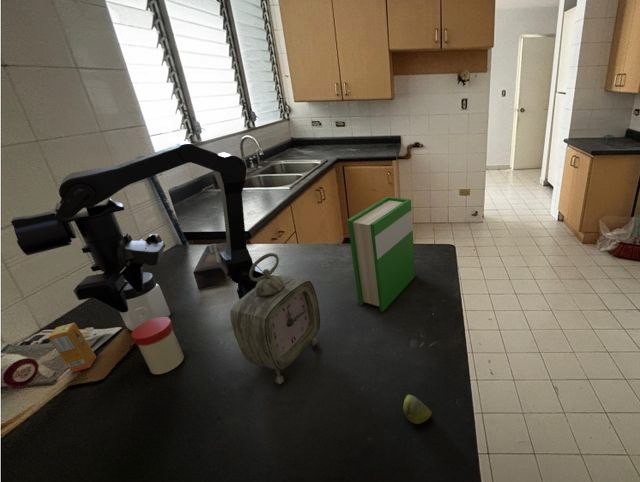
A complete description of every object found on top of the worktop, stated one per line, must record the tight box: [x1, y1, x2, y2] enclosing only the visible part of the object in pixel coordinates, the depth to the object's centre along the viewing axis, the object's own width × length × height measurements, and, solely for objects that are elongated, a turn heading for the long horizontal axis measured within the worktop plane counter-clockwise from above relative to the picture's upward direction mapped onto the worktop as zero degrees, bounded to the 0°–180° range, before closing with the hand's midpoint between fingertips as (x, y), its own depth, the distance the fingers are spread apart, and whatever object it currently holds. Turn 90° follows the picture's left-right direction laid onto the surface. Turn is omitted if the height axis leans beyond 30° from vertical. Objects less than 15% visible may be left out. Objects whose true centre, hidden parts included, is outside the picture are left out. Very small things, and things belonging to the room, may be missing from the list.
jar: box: [118, 272, 171, 332], centre depth 82 cm, size 9×8×12 cm
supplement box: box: [47, 322, 97, 373], centre depth 70 cm, size 3×3×10 cm
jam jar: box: [137, 328, 185, 375], centre depth 70 cm, size 6×6×9 cm
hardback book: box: [346, 195, 416, 313], centre depth 88 cm, size 18×7×24 cm, turn 153°
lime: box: [402, 394, 433, 425], centre depth 56 cm, size 4×5×5 cm
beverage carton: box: [193, 241, 230, 291], centre depth 104 cm, size 8×19×7 cm, turn 20°
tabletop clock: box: [229, 252, 321, 385], centre depth 66 cm, size 14×9×25 cm, turn 160°
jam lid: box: [131, 317, 174, 346], centre depth 68 cm, size 6×6×2 cm
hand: (133, 300), depth 72 cm, fingers open, 7 cm apart
